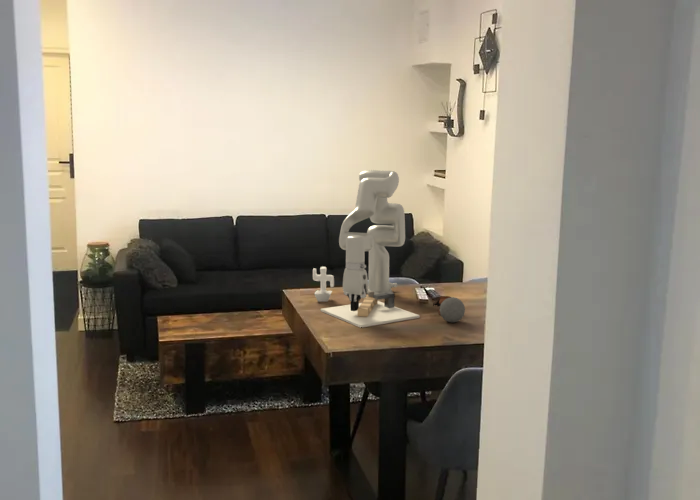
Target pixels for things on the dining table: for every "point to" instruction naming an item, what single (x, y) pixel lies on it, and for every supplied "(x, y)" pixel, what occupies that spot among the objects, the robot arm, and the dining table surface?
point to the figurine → (323, 284)
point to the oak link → (367, 304)
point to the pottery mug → (440, 301)
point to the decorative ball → (452, 309)
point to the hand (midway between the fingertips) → (354, 310)
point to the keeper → (386, 298)
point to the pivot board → (370, 315)
